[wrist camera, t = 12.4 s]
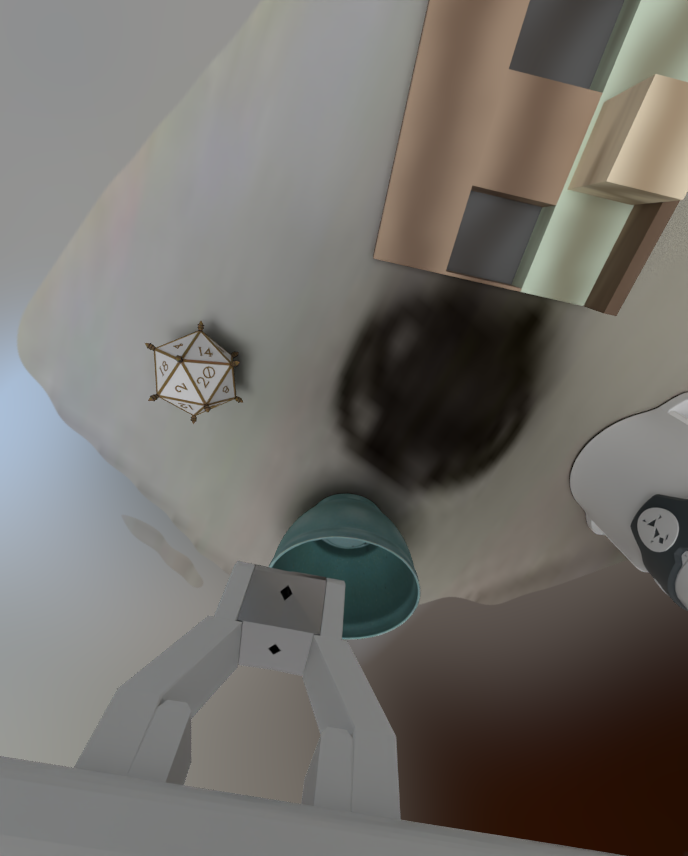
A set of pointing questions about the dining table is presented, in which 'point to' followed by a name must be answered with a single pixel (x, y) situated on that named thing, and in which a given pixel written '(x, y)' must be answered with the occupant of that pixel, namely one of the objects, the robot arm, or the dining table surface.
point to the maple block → (638, 145)
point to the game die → (194, 373)
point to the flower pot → (355, 562)
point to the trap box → (525, 145)
